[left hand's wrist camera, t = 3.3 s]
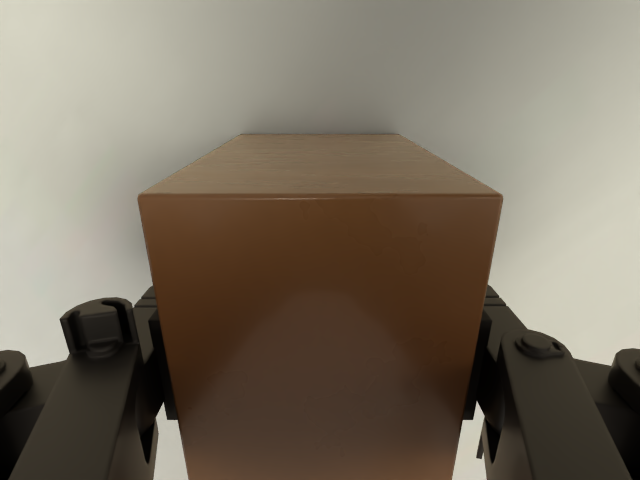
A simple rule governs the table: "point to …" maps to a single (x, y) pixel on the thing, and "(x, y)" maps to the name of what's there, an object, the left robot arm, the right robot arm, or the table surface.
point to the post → (320, 305)
